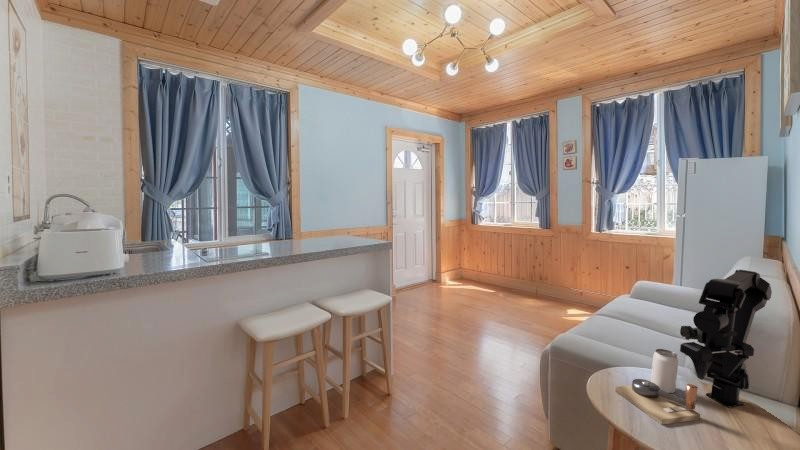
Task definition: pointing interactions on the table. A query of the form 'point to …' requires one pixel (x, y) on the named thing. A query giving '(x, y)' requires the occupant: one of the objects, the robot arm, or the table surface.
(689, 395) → the lever
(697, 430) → the table surface
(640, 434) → the table surface
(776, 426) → the table surface
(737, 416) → the table surface
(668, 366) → the can
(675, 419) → the stand
